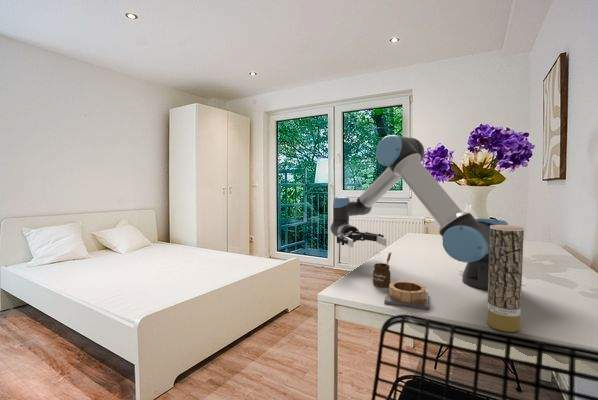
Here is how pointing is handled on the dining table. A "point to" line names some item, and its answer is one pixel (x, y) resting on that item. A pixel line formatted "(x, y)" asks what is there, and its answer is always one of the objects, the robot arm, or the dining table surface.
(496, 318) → the paper tube
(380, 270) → the utensil holder
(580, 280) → the dining table surface
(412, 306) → the collar plate
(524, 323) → the dining table surface
